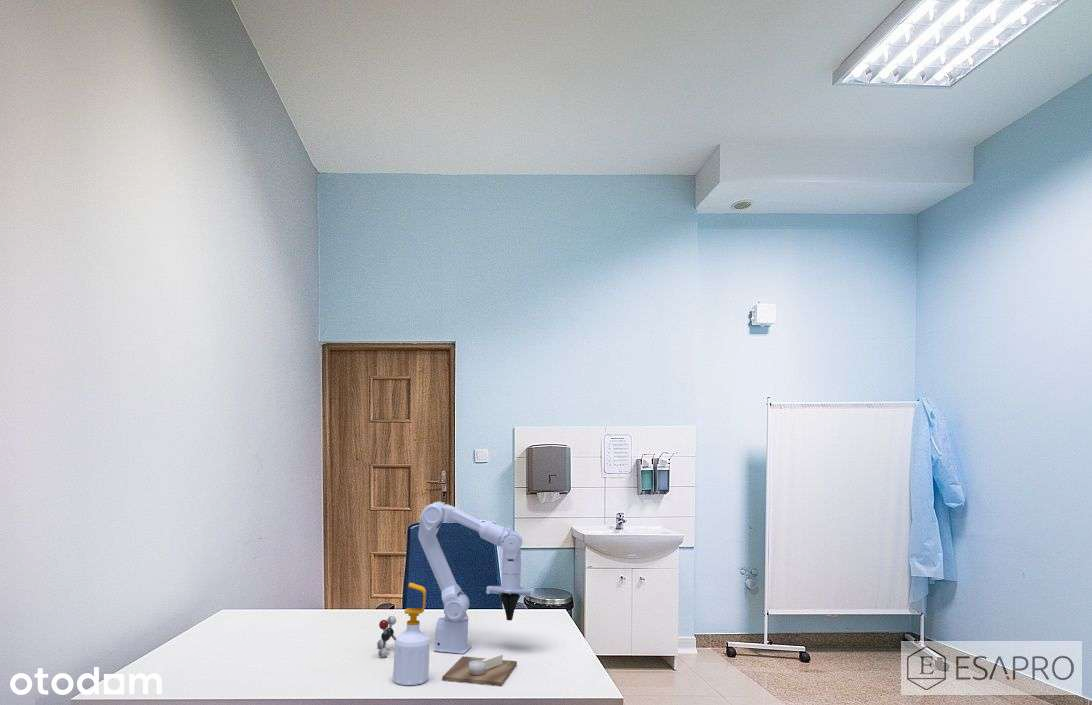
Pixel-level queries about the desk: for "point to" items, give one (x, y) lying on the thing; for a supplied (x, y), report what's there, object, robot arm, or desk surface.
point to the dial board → (491, 675)
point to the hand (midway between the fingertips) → (509, 619)
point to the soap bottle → (412, 649)
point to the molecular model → (386, 635)
